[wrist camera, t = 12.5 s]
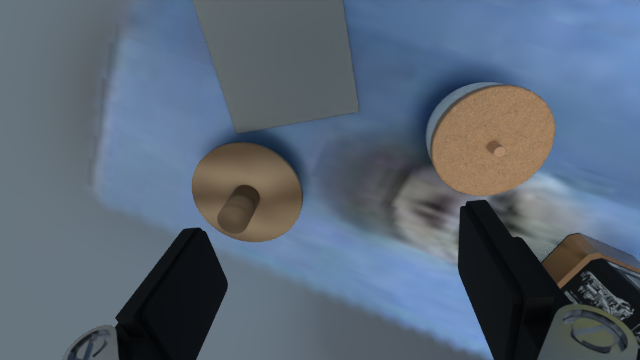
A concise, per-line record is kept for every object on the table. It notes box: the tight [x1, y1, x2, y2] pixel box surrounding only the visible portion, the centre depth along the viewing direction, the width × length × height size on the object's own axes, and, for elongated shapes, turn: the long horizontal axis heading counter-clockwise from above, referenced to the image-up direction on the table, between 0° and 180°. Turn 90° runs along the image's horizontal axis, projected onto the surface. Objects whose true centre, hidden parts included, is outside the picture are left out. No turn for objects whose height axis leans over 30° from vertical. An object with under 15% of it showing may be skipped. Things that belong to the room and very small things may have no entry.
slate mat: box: [193, 0, 359, 134], centre depth 34 cm, size 15×15×1 cm
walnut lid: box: [192, 142, 303, 242], centre depth 34 cm, size 13×13×6 cm
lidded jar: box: [426, 82, 555, 196], centre depth 31 cm, size 11×11×9 cm
